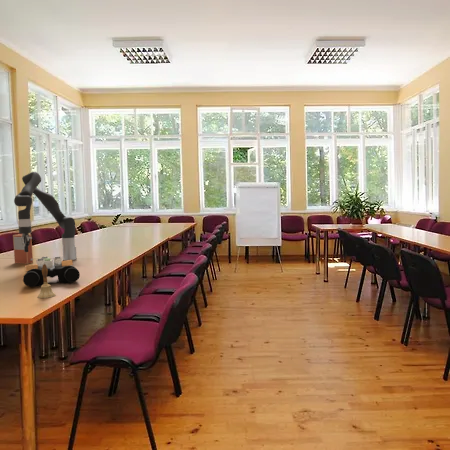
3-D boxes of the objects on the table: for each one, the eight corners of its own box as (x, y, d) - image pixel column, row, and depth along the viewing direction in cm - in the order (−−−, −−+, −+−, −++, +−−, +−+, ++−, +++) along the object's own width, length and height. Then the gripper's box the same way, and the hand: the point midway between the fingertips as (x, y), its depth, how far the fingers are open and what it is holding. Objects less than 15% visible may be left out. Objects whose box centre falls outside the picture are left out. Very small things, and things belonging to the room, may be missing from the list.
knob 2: (55, 267, 271) (55, 257, 270) (53, 266, 275) (52, 257, 274) (73, 265, 279) (72, 255, 278) (70, 264, 282) (70, 255, 282)
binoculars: (23, 289, 215) (22, 270, 215) (25, 284, 234) (24, 267, 234) (80, 283, 227) (79, 265, 226) (78, 279, 245) (77, 263, 245)
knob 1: (43, 268, 271) (43, 258, 270) (46, 268, 267) (45, 259, 266) (24, 270, 263) (23, 260, 262) (26, 271, 259) (26, 261, 259)
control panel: (19, 261, 311) (35, 262, 306) (12, 263, 304) (27, 264, 299) (17, 234, 309) (33, 234, 304) (10, 235, 303) (26, 235, 298)
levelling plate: (62, 265, 288) (61, 254, 287) (70, 268, 275) (69, 257, 274) (25, 270, 272) (24, 258, 272) (33, 274, 259) (32, 261, 259)
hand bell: (33, 297, 198) (31, 265, 197) (46, 293, 206) (44, 262, 204) (46, 298, 195) (44, 266, 194) (59, 294, 203) (57, 263, 202)
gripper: (33, 225, 263) (35, 252, 264) (28, 225, 273) (29, 250, 274) (21, 226, 258) (23, 253, 260) (16, 225, 268) (17, 251, 270)
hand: (26, 251), depth 267 cm, fingers closed
